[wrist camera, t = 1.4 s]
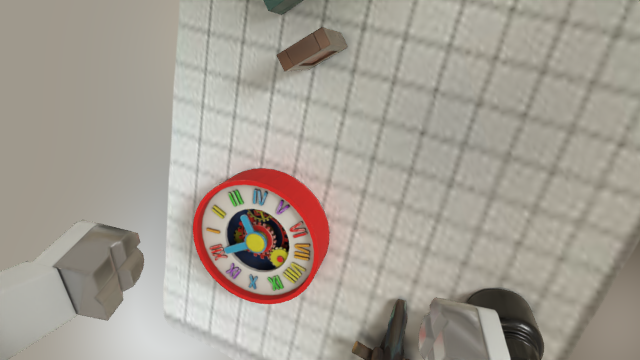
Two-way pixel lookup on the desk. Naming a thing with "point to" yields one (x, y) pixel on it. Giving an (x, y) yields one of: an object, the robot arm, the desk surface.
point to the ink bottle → (513, 322)
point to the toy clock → (261, 235)
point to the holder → (281, 5)
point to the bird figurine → (388, 338)
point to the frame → (312, 50)
